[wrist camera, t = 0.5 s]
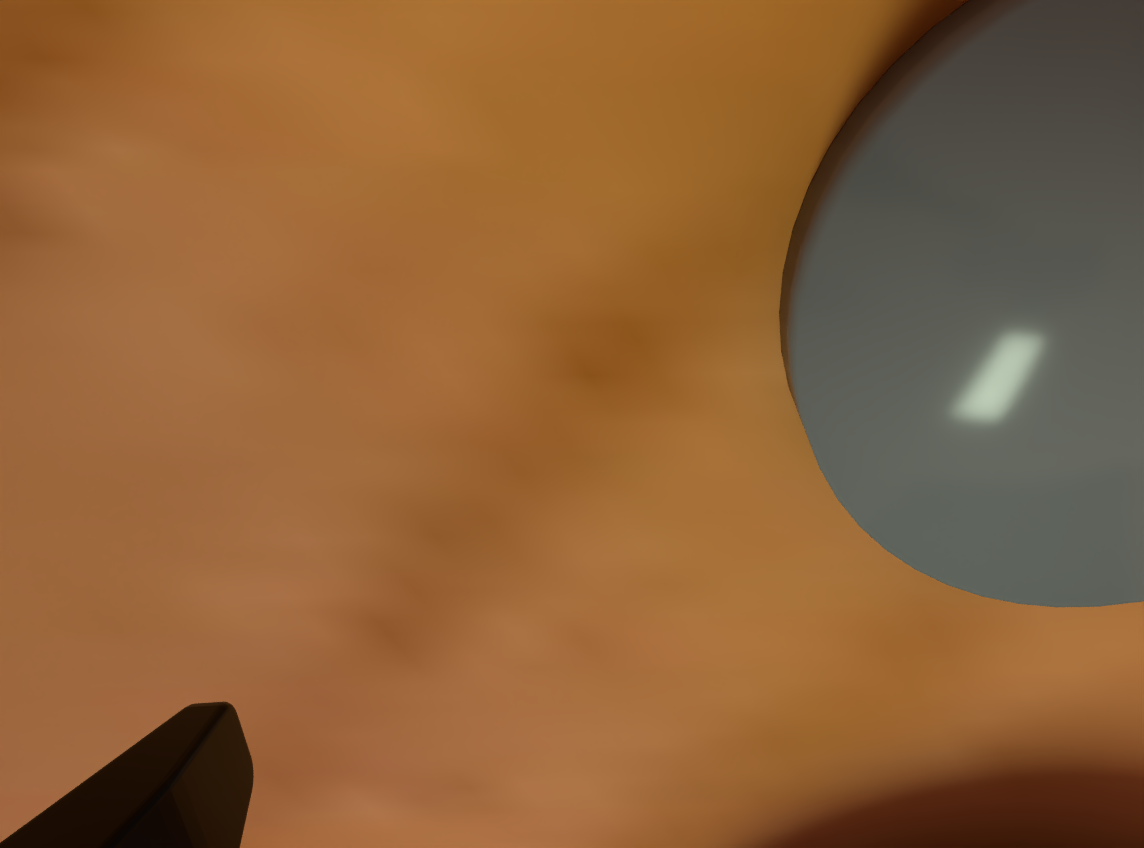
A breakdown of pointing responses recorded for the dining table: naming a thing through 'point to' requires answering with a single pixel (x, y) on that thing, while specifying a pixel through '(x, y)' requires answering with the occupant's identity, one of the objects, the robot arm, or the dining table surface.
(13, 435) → the dining table surface
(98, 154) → the dining table surface
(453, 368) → the dining table surface
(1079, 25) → the slate plinth
